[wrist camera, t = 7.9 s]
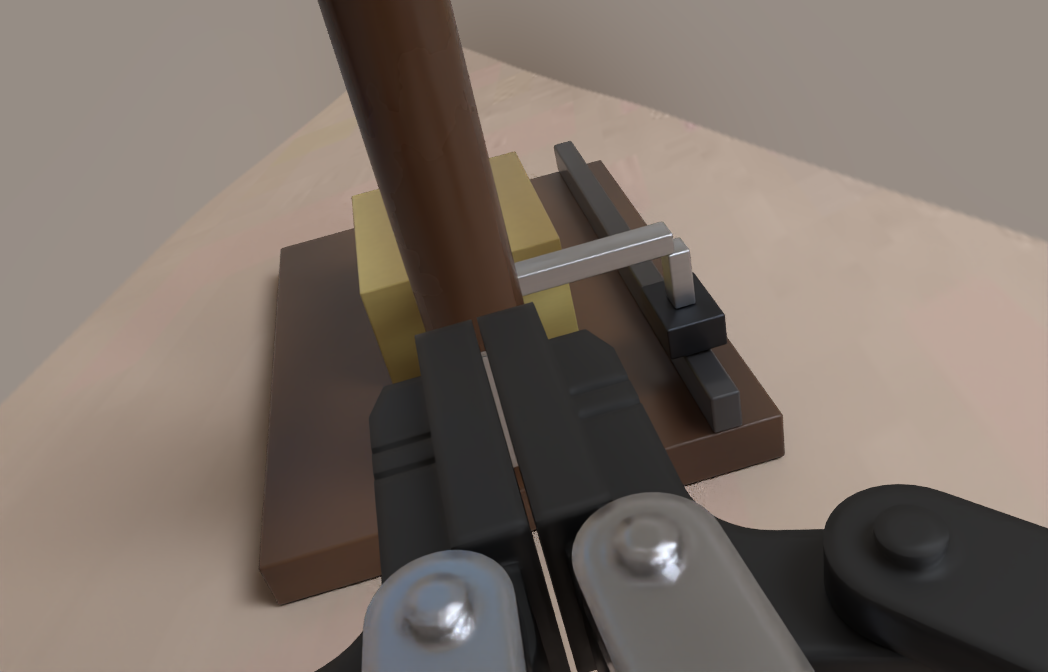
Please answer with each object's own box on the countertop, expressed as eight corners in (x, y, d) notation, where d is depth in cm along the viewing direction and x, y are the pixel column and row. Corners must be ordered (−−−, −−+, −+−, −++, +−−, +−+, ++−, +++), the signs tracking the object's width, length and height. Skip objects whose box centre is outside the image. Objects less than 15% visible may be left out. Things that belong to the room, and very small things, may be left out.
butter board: (278, 607, 23) (201, 469, 21) (292, 278, 38) (248, 172, 35) (786, 456, 24) (778, 303, 21) (606, 190, 39) (587, 79, 36)
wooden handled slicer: (476, 498, 22) (238, -225, 14) (448, 370, 27) (257, -229, 18) (760, 415, 23) (708, -343, 14) (684, 303, 28) (609, -318, 19)
